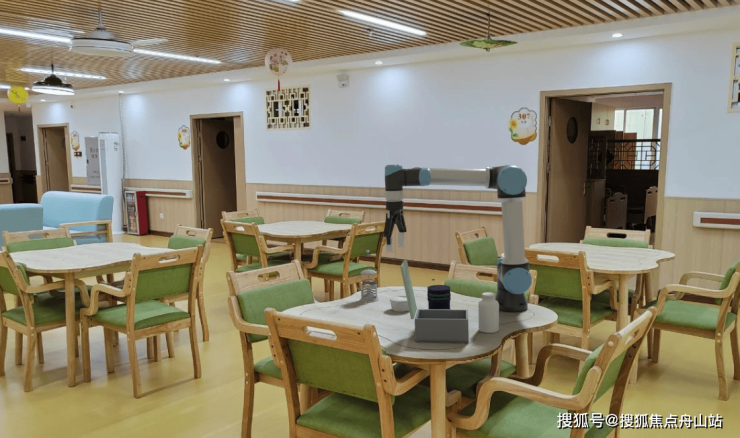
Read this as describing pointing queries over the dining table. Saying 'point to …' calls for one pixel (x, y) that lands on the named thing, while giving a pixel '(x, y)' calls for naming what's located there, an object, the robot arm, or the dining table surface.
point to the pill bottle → (488, 313)
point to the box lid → (408, 288)
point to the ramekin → (399, 303)
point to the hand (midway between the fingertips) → (395, 249)
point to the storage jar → (438, 296)
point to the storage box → (441, 326)
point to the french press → (368, 286)
